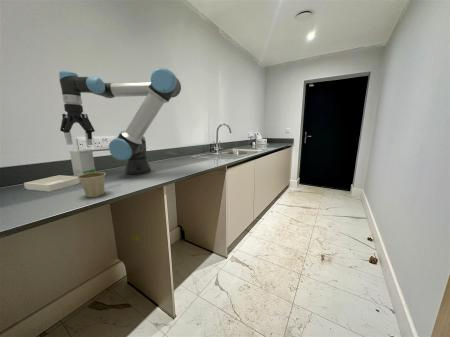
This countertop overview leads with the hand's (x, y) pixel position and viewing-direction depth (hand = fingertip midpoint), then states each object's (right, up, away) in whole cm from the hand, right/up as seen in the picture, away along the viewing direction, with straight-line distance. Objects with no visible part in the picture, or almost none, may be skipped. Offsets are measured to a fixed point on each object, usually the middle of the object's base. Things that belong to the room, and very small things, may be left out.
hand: (79, 144), depth 99 cm
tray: (-2, -21, -12) cm, 24 cm away
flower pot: (+26, -24, -24) cm, 43 cm away
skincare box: (0, -18, +4) cm, 19 cm away
